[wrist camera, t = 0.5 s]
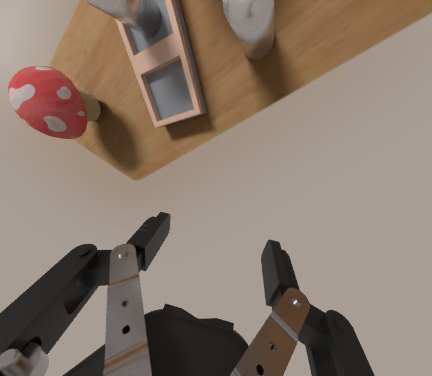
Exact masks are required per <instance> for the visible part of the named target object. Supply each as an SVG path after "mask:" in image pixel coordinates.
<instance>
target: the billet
mask: <svg viewBox="0 0 432 376" xmlns="http://www.w3.org/2000/svg"><path fill="white" fill-rule="evenodd" d="M223 9H224V13H225V16H226V18H227V20H228V22H229V24H230V26H231V28H232V30H233V32H234V34H235V35H236V37H237V39H238V41H239V43H240V45H241V47H242V49H243V51H244V52H245V54H246V55H247V57H249V58H250V59H253V60H257V59H261V58H263V57H264V56H266V55H267V54H268V52H269V51H270V50H271V48H272V46H273V43H274V37H275V0H223Z"/></svg>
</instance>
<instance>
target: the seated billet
mask: <svg viewBox="0 0 432 376" xmlns="http://www.w3.org/2000/svg"><path fill="white" fill-rule="evenodd" d="M83 1H85V2H87V3H88V4H90V5H92V6H94V7H95V8H97V9H99V10H101V11H103V12H104V13H106V14H108V15H110V16H111V17H113V18H115V19H117V20H118V21H120V22H122V23H124V24H125V25H127V26H129V27H131V28H132V29H134V30H136V31H138V32H140V33H141V34H143V35H145V36H147V37H153V36H155V35H156V34H157V33H158V31H159V29H160V26H161V13H160V9H159V7H158V5H157V3H156V2H155V1H154V0H83Z"/></svg>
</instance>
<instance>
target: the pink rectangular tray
mask: <svg viewBox="0 0 432 376" xmlns="http://www.w3.org/2000/svg"><path fill="white" fill-rule="evenodd" d="M154 1H155V2H156V3H157V5H158V7H159V9H160V13H161V26H160V29H159V31H158V33H157V34H156V35H155V36H153V37H147V36H145V35H143V34H141V33H140V32H138V31H136V30H134V29H132V28H131V27H129V26H127V25H125V24H124V23H122V22H120V21H118V20H117V19H116V22H117V25H118V27H119V30H120V33H121V36H122V38H123V41H124V44H125V47H126V49H127V52H128V55H129V57H130V60H131V63H132V66H133V68H134V71H135V74H136V77H137V79H138V82H139V85H140V88H141V90H142V93H143V96H144V99H145V101H146V104H147V107H148V110H149V112H150V115H151V118H152V121H153V123H154V126H155V128H156V127H162V126H167V125H170V124H173V123H176V122H180V121H183V120H186V119H189V118H193V117H196V116H199V115H202V114H206V113H207V110H206V106H205V102H204V98H203V94H202V90H201V86H200V82H199V78H198V74H197V70H196V66H195V62H194V58H193V54H192V50H191V46H190V42H189V37H188V33H187V29H186V25H185V21H184V17H183V13H182V9H181V5H180V1H179V0H154Z"/></svg>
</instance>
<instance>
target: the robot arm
mask: <svg viewBox="0 0 432 376" xmlns="http://www.w3.org/2000/svg"><path fill="white" fill-rule="evenodd" d="M169 229H170V214H168V213H164V212H160V213H159V215H158V216H157V217H151V218H149V219H147V220H146V221H145V222H144V223H143V225H142V226H141V227H140V228H139V229H138V230H137V231H136V233H135V234H134V235H133V236H132V237H131V238H130V239H129V240H128V242H127V243H126V244H122V245H119V246H117V247H115V248H114V249H113V250H97V248H96V246H95V245H93V244H84V245H80V246H78V247H76V248H74V249H73V250H71V251H70V252H69V253H68V254H67V255H66V256H65V257H64V258H62V259H61V260H60V261H59V262H58V263H57V264H55V265H54V266H53V267H52V268H51V269H50V270H49V271H48V272H46V273H45V274H44V275H43V276H42V277H41V278H40V279H39V280H38V281H36V282H35V283H34V284H33V285H32V286H31V287H29V289H27V290H26V291H25V292H24V293H23V294H22V295H20V296H19V297H18V298H17V299H16V300H15V301H14V302H13V303H11V304H10V305H9V306H8V307H7V308H6V309H5V310H4V311H2V312H1V313H0V376H44V374H45V372H46V370H47V367H48V363H49V360H48V357H47V354H48V353H49V351H50V350H51V349H52V348H53V346H54V345H55V343H56V342H57V341H58V340H59V338H60V337H61V336H62V334H63V333H64V332H65V330H66V329H67V327H68V326H69V325H70V324H71V322H72V321H73V319H74V318H75V317H76V316H77V314H78V313H79V312H80V310H81V309H82V308H83V306H84V305H85V304H86V302H87V301H88V300H89V298H90V297H91V296H92V294H93V293H94V292H95V290H96V289H97V288H98V286H102V285H108V288H107V314H106V316H107V317H106V340H105V341H106V342H105V344H104V345H103V346H101V347H100V348H99V349H97V350H96V351H95V352H94V353H92V354H91V355H89V356H88V357H87V358H85V359H84V360H83V361H82V362H80V363H79V364H78V365H76V366H75V367H74V368H72V369H71V370H70V371H68V372H67V373H66V374H64V375H63V376H283V375H284V372H285V370H286V368H287V365H288V363H289V361H290V359H291V356H292V354H293V352H294V350H295V347H296V345H297V342H298V341H300V342H301V343H303V344H305V346H306V350H307V355H308V360H309V364H310V369H311V374H312V376H374V373H373V371H372V369H371V367H370V365H369V362H368V360H367V358H366V356H365V353H364V351H363V349H362V347H361V345H360V342H359V340H358V338H357V336H356V333H355V331H354V329H353V327H352V326H351V324H350V323H349V321H348V320H347V319H346V318H345V317H344V316H343V315H341V314H340V313H338V312H336V311H334V310H329V311H327V312H326V313H325V312H322V311H321V310H319V309H318V308H316V307H314V306H313V305H311V304H310V303H309V301H308V299H307V297H306V296H305V295H304V294H303V293H302V292H301V291H300V290H299V287H298V283H297V280H296V277H295V274H294V270H293V267H292V264H291V260H290V257H289V255H288V254H287V253H286V251H285V250H281V247H280V243H279V242H277V241H273V240H268V242H267V244H266V246H265V248H264V250H263V253H262V256H261V263H262V272H263V281H264V290H265V298H266V305H268V306H271V307H272V313H271V314H270V316H269V317H268V319H267V320H266V322H265V323H264V325H263V326H262V328H261V329H260V331H259V332H258V334H257V335H256V337H255V338H254V340H253V341H252V343H251V344H250V346H248V344H247V343H246V342H245V340H244V339H243V338H242V336H241V335H240V334H239V333H237V332H236V331H235V330H233V325H234V324H233V323H231V322H228V321H224V320H221V319H217V318H213V319H212V318H211V319H198V318H196V317H194V316H193V315H191V314H189V313H188V312H186V311H185V310H183V309H182V308H178V307H175V306H172V305H168V304H165V306H164V308H163V309H159V310H155V311H151V312H149V313H147V314H145V315H144V311H143V303H142V295H141V287H140V279H139V274H138V273H139V272H140V270H143V271H146V270H147V268H148V267H149V265H150V263H151V262H152V260H153V259H154V257H155V255H156V254H157V252H158V250H159V249H160V247H161V245H162V244H163V242H164V240H165V239H166V237H167V235H168V233H169Z"/></svg>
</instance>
